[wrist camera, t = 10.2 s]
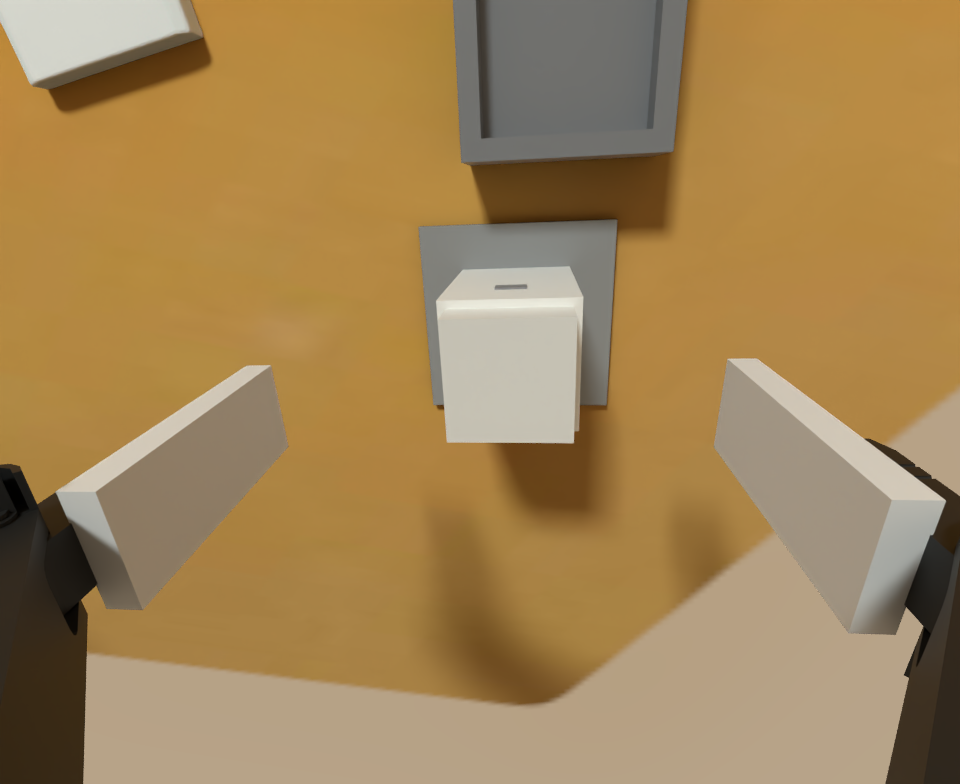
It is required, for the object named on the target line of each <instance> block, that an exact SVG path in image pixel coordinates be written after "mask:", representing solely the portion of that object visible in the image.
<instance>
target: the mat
mask: <svg viewBox="0 0 960 784" xmlns="http://www.w3.org/2000/svg"><path fill="white" fill-rule="evenodd" d="M616 235H617V219H605V220H578V221H552V222H526V223H500V224H473V225H447V226H421V227H419V238H420V250H421V262H422V273H423V285H424V297H425V309H426V321H427V332H428V344H429V356H430V368H431V380H432V392H433V403H434V405H444V397H443V384H442V371H441V359H440V346H439V333H438V321H437V307H436V300H437V299H438V298H439V297H440V296H441V294H442V293H443V292H444V291H445V290H446V289H447V287H448V286H449V285H450V284H451V283H452V282H453V280H454V279H455V278H456V277H457V276H458V275H459V273H460V272H461V271H462V270H469V269H501V268H534V267H566V266H570V268H571V271H572V273H573V275H574V277H575V280H576V282H577V284H578V286H579V289H580V291H581V293H582V295H583V323H582V353H581V383H580V405H607V388H608V371H609V354H610V337H611V320H612V303H613V286H614V269H615V252H616Z"/></svg>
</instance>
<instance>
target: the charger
mask: <svg viewBox="0 0 960 784" xmlns="http://www.w3.org/2000/svg"><path fill="white" fill-rule="evenodd" d="M436 307H437V321H438V333H439V346H440V359H441V371H442V384H443V397H444V409H445V422H446V435H447V442H479V443H574V431H579V413H580V383H581V353H582V323H583V295H582V293H581V291H580V289H579V286H578V284H577V282H576V280H575V277H574V275H573V273H572V271H571V268H570V266H566V267H534V268H501V269H469V270H462V271H461V272H460V273H459V275H458V276H457V277H456V278H455V279H454V280H453V282H452V283H451V284H450V285H449V286H448V287H447V289H446V290H445V291H444V292H443V293H442V294H441V296H440V297H439V298H438V299H437V300H436Z"/></svg>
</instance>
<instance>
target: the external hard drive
mask: <svg viewBox="0 0 960 784" xmlns="http://www.w3.org/2000/svg"><path fill="white" fill-rule="evenodd" d="M0 22H1V24H2V26H3V28H4V30H5V32H6V34H7V36H8V38H9V40H10V42H11V45H12V47H13V49H14V51H15V53H16V55H17V57H18V59H19V61H20V63H21V65H22V67H23V69H24V71H25V74H26V76H27V78H28V80H29V82H30V84H31V85H32V86H33V87H39V88H44V89H52V88H55V87H58V86H61V85H64V84H67V83H70V82H73V81H76V80H79V79H82V78H85V77H87V76H90V75H93V74H96V73H99V72H102V71H105V70H108V69H111V68H114V67H117V66H120V65H123V64H126V63H129V62H132V61H135V60H138V59H141V58H144V57H146V56H149V55H152V54H155V53H158V52H161V51H164V50H167V49H170V48H173V47H176V46H179V45H182V44H185V43H188V42H191V41H194V40H198V39H200V38H203V33H202V30H201V27H200V25H199V22H198V19H197V17H196V14H195V11H194V8H193V6H192V3H191V0H0Z"/></svg>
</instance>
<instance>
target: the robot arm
mask: <svg viewBox="0 0 960 784" xmlns="http://www.w3.org/2000/svg"><path fill="white" fill-rule="evenodd" d="M287 448H288V442H287V438H286V433H285V428H284V424H283V419H282V414H281V410H280V405H279V401H278V396H277V391H276V387H275V382H274V377H273V373H272V368H271V365H265V366H245V367H244V368H242V369H241V370H239V371H238V372H236V373H235V374H233V375H232V376H230V377H229V378H227V379H226V380H224V381H223V382H221V383H220V384H218V385H217V386H215V387H213V388H212V389H210V390H209V391H207V392H206V393H204V394H203V395H201V396H200V397H198V398H197V399H195V400H194V401H192V402H191V403H189V404H188V405H186V406H185V407H183V408H182V409H180V410H179V411H177V412H176V413H174V414H172V415H171V416H169V417H168V418H166V419H165V420H163V421H162V422H160V423H159V424H157V425H156V426H154V427H153V428H151V429H150V430H148V431H147V432H145V433H144V434H142V435H141V436H139V437H138V438H136V439H135V440H133V441H131V442H130V443H128V444H127V445H125V446H124V447H122V448H121V449H119V450H118V451H116V452H115V453H113V454H112V455H110V456H109V457H107V458H106V459H104V460H103V461H101V462H100V463H98V464H97V465H95V466H94V467H92V468H91V469H89V470H87V471H86V472H84V473H83V474H81V475H80V476H78V477H77V478H75V479H74V480H72V481H71V482H69V483H68V484H66V485H65V486H63V487H62V488H60V489H59V490H57V491H56V493H54V494H53V495H51V496H49V497H48V498H46V499H45V500H43V501H42V502H40V503H39V504H37V503H36V501H35V499H34V497H33V494H32V492H31V490H30V488H29V486H28V484H27V481H26V479H25V477H24V475H23V473H22V470H21V468H20V466H17V465H13V464H4V465H0V784H83V768H84V767H83V766H84V731H85V730H84V728H85V694H86V693H85V692H86V657H87V619H88V614H87V612H86V610H85V607H84V605H83V603H82V601H81V599H82V598H83V597H84V596H85V595H86V594H88V593H89V592H90V591H91V590H92V589H93V588H94V587H95V586H96V585H97V588H98V590H99V592H100V595H101V597H102V599H103V601H104V604H105V606H106V608H107V609H129V610H143V609H144V608H145V607H146V606H147V605H148V603H149V602H150V601H151V600H152V599H153V598H154V597H155V596H156V594H157V593H158V592H159V591H160V590H161V589H162V588H163V587H164V586H165V584H166V583H167V582H168V581H169V580H170V579H171V578H172V577H173V575H174V574H175V573H176V572H177V571H178V570H179V569H180V568H181V566H182V565H183V564H184V563H185V562H186V561H187V560H188V559H189V557H190V556H191V555H192V554H193V553H194V552H195V551H196V550H197V549H198V547H199V546H200V545H201V544H202V543H203V542H204V541H205V540H206V538H207V537H208V536H209V535H210V534H211V533H212V532H213V531H214V529H215V528H216V527H217V526H218V525H219V524H220V523H221V522H222V521H223V519H224V518H225V517H226V516H227V515H228V514H229V513H230V512H231V510H232V509H233V508H234V507H235V506H236V505H237V504H238V503H239V501H240V500H241V499H242V498H243V497H244V496H245V495H246V494H247V492H248V491H249V490H250V489H251V488H252V487H253V486H254V485H255V484H256V482H257V481H258V480H259V479H260V478H261V477H262V476H263V475H264V473H265V472H266V471H267V470H268V469H269V468H270V467H271V466H272V464H273V463H274V462H275V461H276V460H277V459H278V458H279V457H280V455H281V454H282V453H283V452H284V451H285V450H286V449H287ZM714 448H715V449H716V451H717V452H718V454H719V455H720V456H721V458H722V459H723V460H724V462H725V463H726V465H727V466H728V467H729V469H730V470H731V472H732V473H733V474H734V476H735V477H736V478H737V480H738V481H739V483H740V484H741V485H742V487H743V488H744V489H745V491H746V492H747V494H748V495H749V496H750V498H751V499H752V501H753V502H754V503H755V505H756V506H757V507H758V509H759V510H760V512H761V513H762V514H763V516H764V517H765V519H766V520H767V521H768V523H769V524H770V525H771V527H772V528H773V530H774V531H775V532H776V534H777V535H778V537H779V538H780V539H781V541H782V542H783V543H784V545H785V546H786V548H787V549H788V550H789V552H790V553H791V554H792V556H793V557H794V559H795V560H796V561H797V563H798V564H799V565H800V567H801V568H802V570H803V571H804V572H805V574H806V575H807V577H808V578H809V579H810V581H811V582H812V584H813V585H814V586H815V587H816V589H817V590H818V592H819V593H820V595H821V596H822V597H823V599H824V600H825V601H826V603H827V604H828V606H829V607H830V608H831V610H832V611H833V612H834V614H835V615H836V617H837V618H838V619H839V620H840V622H841V624H842V625H843V626H844V628H845V629H846V631H847V632H848V633H859V634H890V635H896V632H897V630H898V627H899V624H900V622H901V619H902V616H903V614H904V611H905V608H906V607H907V608H908V609H909V610H910V612H911V613H912V614H913V615H914V616H915V617H916V618H917V619H918V620H919V622H920V623H921V624H922V625H923V629H922V632H921V634H920V636H919V639H918V642H917V644H916V646H915V649H914V651H913V654H912V656H911V659H910V661H909V664H908V666H907V669H906V671H905V674H904V675H905V676H907V677H909V681H908V685H907V690H906V694H905V698H904V703H903V707H902V712H901V716H900V721H899V725H898V730H897V734H896V739H895V743H894V748H893V752H892V757H891V762H890V766H889V770H888V775H887V780H886V784H960V496H958V495H957V494H956V493H954V492H953V491H952V490H950V489H949V488H948V487H946V486H944V485H943V484H942V483H941V482H939V481H938V480H936V479H932V478H931V475H929V474H928V473H927V472H925V471H924V470H922V469H921V468H920V467H915V464H914V463H913V462H911V461H910V460H908V459H907V458H906V457H904V456H903V455H901V454H900V453H899V452H897V451H896V450H894V449H891V448H889V447H887V446H885V445H882V444H880V443H878V442H876V441H873V440H871V439H863V438H862V437H861V436H859V435H858V434H857V433H855V432H854V431H853V430H851V429H850V428H849V427H847V426H846V425H845V424H843V423H842V422H841V421H839V420H838V419H837V418H835V417H834V416H833V415H831V414H830V413H829V412H827V411H826V410H825V409H823V408H822V407H821V406H819V405H818V404H817V403H815V402H814V401H813V400H811V399H810V398H809V397H807V396H806V395H805V394H803V393H802V392H801V391H799V390H798V389H797V388H795V387H794V386H793V385H791V384H790V383H789V382H787V381H786V380H785V379H783V378H782V377H781V376H779V375H778V374H777V373H775V372H774V371H773V370H771V369H770V368H769V367H767V366H766V365H765V364H763V363H762V362H761V361H759V360H758V359H727V366H726V372H725V379H724V385H723V391H722V398H721V404H720V411H719V417H718V423H717V430H716V436H715V443H714Z"/></svg>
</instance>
